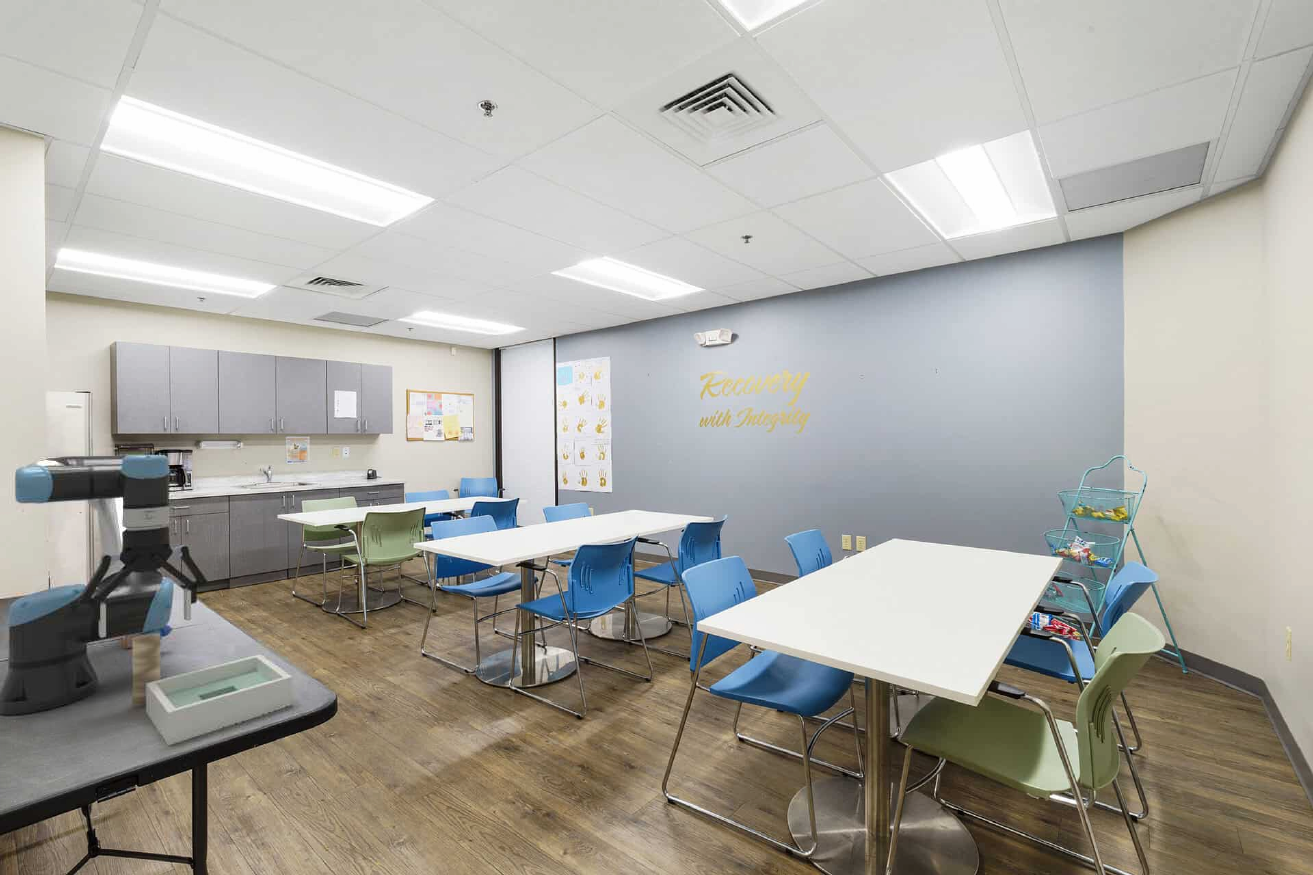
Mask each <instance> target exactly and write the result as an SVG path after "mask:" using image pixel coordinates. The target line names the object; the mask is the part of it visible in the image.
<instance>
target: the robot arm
mask: <svg viewBox="0 0 1313 875" xmlns="http://www.w3.org/2000/svg"><path fill="white" fill-rule="evenodd" d="M170 473H171V468H170V460H169V458H168V456H167V455H164V454H149V455H147V454H145V455H141V454H140V455H139V454H138V455H137V454H135V455H134V454H132V455H130V454H121V455H94V456H93V455H85V456H83V455H81V456H79V455H78V456H76V455H74V456H69V455H68V456H58V457H53V458H47V459H43V460H38V461H36V462H35V461H34V462H32V463H30V464H28V465H26V466H23V467H18V468H16V470H15V473H14V476H15V477H14V491H15V492H14V494H15V495H14V496H15V501H16V502H17V503H19V504H37V505H38V504H44V503H45V504H49V503H59V502H63V503H64V502H79V501H87V504H88V505H89V507H90V508H92V509H94V510H95V511H96V512H97V520H98V526H99V528H98V529H99V536H100V537H99V538H100V544H101V551H102V555H101V556H100V562H99V566H97V569H96V571H95V572H94V574H93V575H92V577H91V579H90V580H89V581H88V583H87V584H83V583H75V584H68V585H63V586H57V587H53V588H52V587H51V588H47V589H44V590H40V591H37V592H33V593H30V594H28V595H24V596H23V597H22V596H21V597H20V598H18V599H16V600H15V601H14V602H12V603H11V605H10V606H9V610H8V619H7V622H6V626H7V627H8V656H7V657H8V672H7V673H6V675H5V678H4V680H3V683H2V685H1V687H0V715H3V714H4V716H5V715H6V716H9V715H10V716H13V715H23V714H31V713H35V712H37V713H38V712H41V711H47V710H50V709H56V708H57V707H62V706H65V705H68V704H73V703H74V702H77V701H80V700H82V699H84V698H86V697H89V696H90V695H92V694H94V693H95V692H96V691H97V690H98V689H99V677H98V675H97V673H96V671H95V669H94V667H93V665H92V663H91V661H90V659H89V657H88V644H89V643H94V642H101V641H104V640H105V641H106V640H110V639H115V638H120V637H121V636H126V635H131V634H136V633H141V632H143V633H145V632H147V631H150V630H155V629H159V628H162V627H164V626H166V625H168V623H169V622H170V619H171V615H172V610H173V602H174V601H173V600H174V580H173V579H172V578H171V577H170V578H169V577H165V578H164V577H163V573H162V572H161V570H160V569H161V568H162V569H164V570H165V571H166V572H168V573H169V574H171V575H172V576H173V577H175V578H176V579H177V580H178V581H180V582H181V583H182V584H183V585H185V586H186V587H187V588H184V589H183V619H184V620H185V621H187V622H188V621H191V620H192V604H193V605H194V604H196V603H197V601H198V600H197V599H198V598H197V597H198V595H197V594H198V593H197V592H198V589H199V588H200V587H201V586H205V585H206V584H208V579H207V578H205V576H204V574H203V573H202V571H201V570H200V568H199V567H198V566H197V564H196V562H195V561H194V559H192V557H191V555H190V550H189V546H187V545H184V544H181V545H180V546H176V547H172V546H170V540H171V539H170V527H169V526H168V524H170ZM173 554H174V555H175V556H177V557H178V558H179V557H180V559H181V561H183V563H184V564H185V565H186V567H187V569H188V570H189V571H190V573H191V574H192V576H193V578H194V579H195V580H194V581H192V580H191V579H190V578H189V577H187V576H186V575H185V574H184V573H182V572H181V571H179V569H177V568H176V567H174V566H173V565H172V564H171V563H169V562H168V560H169V559H170V557H171V556H172V555H173ZM121 638H122V637H121Z"/></svg>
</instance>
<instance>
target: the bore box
mask: <svg viewBox="0 0 1313 875" xmlns="http://www.w3.org/2000/svg"><path fill="white" fill-rule="evenodd" d="M290 705H292V706H293V676H291V675H290V674H289V673H287V672H286V671H284V670H283V669H282V668H280V667H279V666H277V664H275V663H274V662H272V661H271V660H269V659H268V658H266V657H265V656H264V655H262V654H256V655H253V656H252V655H251V656H249V657H244V658H241V659H236V660H234V661H233V660H232V661H229V662H225V663H220V664H217V665H213V666H210V667H206V668H205V667H204V668H202V669H198V670H194V671H190V672H186V673H181V674H178V675H174V676H170V677H166V678H162V679H161V678H160V680H157V681H153V682H150V683H146V706H145V713H146V715H147V716H148V717H149V719H150V720H151V722H152V723H153V725H154V727H155V728H156V729H157V731H158V732H159V734H160V735H161V737H162V738H163V740H164V741H165V742H166V744H167V746H172V745H174V744H177V743H181V742H184V741H186V740H190V739H193V738H195V737H196V738H197V737H199V736H202V735H205V734H208V733H211V732H215V731H218V730H221V729H224V728H227V727H230V726H233V725H236V724H235V723H237V724H239V723H243V722H246V721H249V720H252V719H255V718H258V717H261V716H264V715H267V714H270V713H274V712H276V711H275V710H277V711H279V709H280V710H282V708H283V709H285V707H286V706H289V707H291V706H290ZM286 708H287V707H286ZM273 711H274V712H273ZM269 712H270V713H269ZM263 714H264V715H263ZM242 721H243V722H242ZM223 727H224V728H223Z"/></svg>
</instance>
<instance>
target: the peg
mask: <svg viewBox="0 0 1313 875" xmlns="http://www.w3.org/2000/svg"><path fill="white" fill-rule="evenodd" d="M160 643H161V640H160V634H159V633H151V634H144V635H140V636H137V637H134V638H133V639H132V648H131V649H132V707H133V708H143V707H146V683H150V682H153V681H157V680H161V645H160Z"/></svg>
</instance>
